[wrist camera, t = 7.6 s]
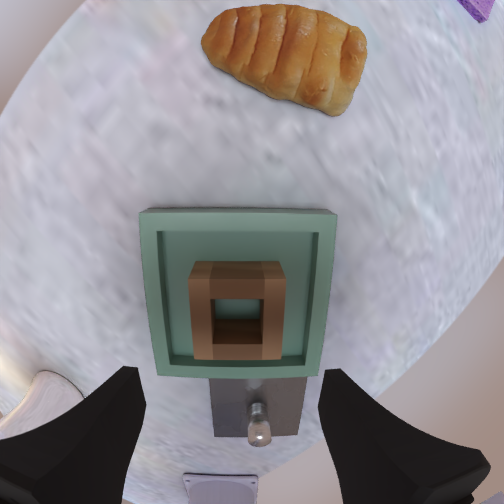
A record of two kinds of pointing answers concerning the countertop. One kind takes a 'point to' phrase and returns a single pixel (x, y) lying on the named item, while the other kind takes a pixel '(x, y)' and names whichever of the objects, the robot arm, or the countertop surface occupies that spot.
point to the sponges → (478, 8)
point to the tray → (237, 249)
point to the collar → (237, 330)
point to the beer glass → (40, 404)
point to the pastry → (289, 53)
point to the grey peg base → (257, 407)
